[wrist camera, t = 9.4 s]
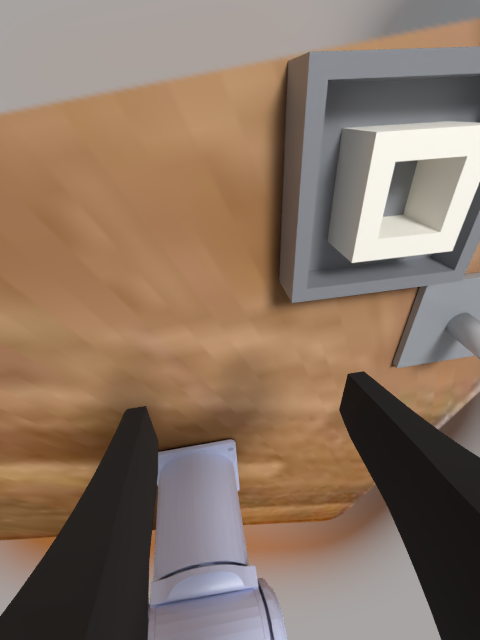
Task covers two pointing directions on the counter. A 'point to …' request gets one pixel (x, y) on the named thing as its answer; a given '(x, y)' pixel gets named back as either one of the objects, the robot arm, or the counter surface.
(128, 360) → the counter surface
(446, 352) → the grey plate with post
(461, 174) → the ring
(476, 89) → the tray
